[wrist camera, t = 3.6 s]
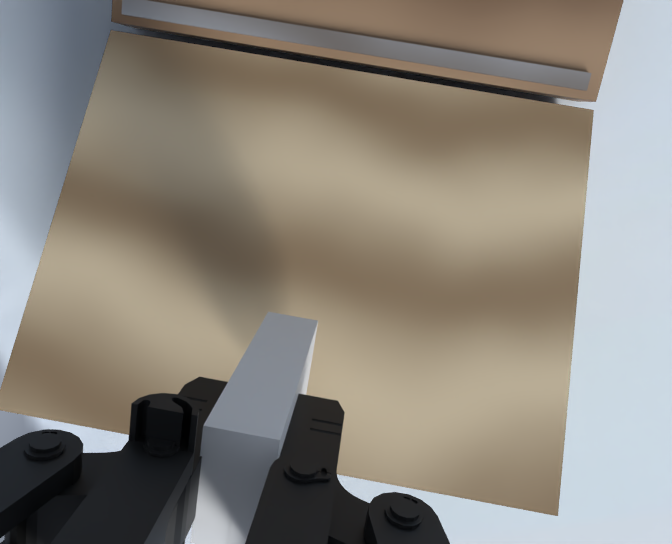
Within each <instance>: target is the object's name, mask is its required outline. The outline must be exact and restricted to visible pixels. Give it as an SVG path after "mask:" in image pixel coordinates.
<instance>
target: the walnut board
mask: <svg viewBox="0 0 672 544" xmlns="http://www.w3.org/2000/svg"><path fill="white" fill-rule="evenodd" d="M622 4H623V0H112V18H111V22H115V23H118V24H122V25H125V26H129V27H133V28H137V29H143V30H149V31H155V32H161V33H167V34H173V35H179V36H185V37H191V38H197V39H203V40H209V41H215V42H222V43H228V44H234V45H240V46H246V47H252V48H258V49H264V50H270V51H276V52H282V53H288V54H294V55H300V56H306V57H312V58H318V59H324V60H330V61H336V62H342V63H349V64H355V65H361V66H367V67H373V68H379V69H385V70H391V71H397V72H403V73H409V74H415V75H421V76H427V77H433V78H439V79H445V80H451V81H457V82H463V83H469V84H476V85H482V86H488V87H494V88H500V89H506V90H512V91H518V92H524V93H530V94H536V95H542V96H548V97H554V98H560V99H566V100H572V101H586V102H596V100H597V96H598V92H599V88H600V85H601V81H602V77H603V74H604V70H605V66H606V63H607V59H608V55H609V52H610V48H611V44H612V41H613V37H614V33H615V30H616V26H617V22H618V18H619V15H620V11H621V7H622Z"/></svg>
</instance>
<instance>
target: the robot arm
mask: <svg viewBox="0 0 672 544" xmlns="http://www.w3.org/2000/svg"><path fill="white" fill-rule="evenodd" d="M317 325H318V321H317V320H312V319H306V318H301V317H295V316H290V315H284V314H279V313H273V312H268V313H267V315H266V316H265V318H264V320H263V322H262V323H261V325H260V327H259V329H258V330H257V332H256V334H255V336H254V337H253V339H252V341H251V343H250V344H249V346H248V348H247V350H246V352H245V353H244V355H243V357H242V359H241V360H240V362H239V364H238V366H237V367H236V369H235V371H234V373H233V374H232V376H231V378H230V380H229V381H228V382H226V381H221V380H215V379H210V378H204V377H198V378H196V379H194V380H192V381H190V382H188V383H186V384H185V385H184V386H183V388H182V389H181V390H180V392H179V393H178V394H170V393H157V394H149V395H146V396H143V397H140V398H138V399H137V400H135V401H134V402H133V403H131V416H130V429H129V441H128V442H127V443H126V445H125V446H124V447H123V449H122V450H121V451H117V452H108V453H83V443H82V442H81V440H80V438H79V437H77V436H76V435H74V434H72V433H70V432H66V431H61V430H53V429H52V430H50V429H48V430H40V431H35V432H31V433H28V434H25V435H23V436H21V437H18V438H16V439H15V440H13V441H11V442H10V443H8V444H6V445H4V446H3V447H1V448H0V538H1V537H2V536H4V535H5V540H4V541H3V542H1V543H0V544H185V538H186V536H187V534H188V532H189V530H190V528H191V525H192V531H191V540H190V543H192V544H450V543H449V540H448V538H447V536H446V534H445V532H444V529H443V527H442V525H441V523H440V521H439V518H438V516H437V515H436V513H435V512H434V511H433V509H432V508H431V507H430V506H429V505H427V504H426V503H425V502H423V501H422V500H420V499H418V498H416V497H413V496H411V495H408V494H403V493H397V492H392V493H383V494H381V495H379V496H377V497H374V498H373V500H372V501H371V503H367V502H365V501H363V500H361V499H359V498H357V497H355V496H353V495H352V494H350V493H349V492H348V491H346V490H345V489H344V488H343V486H342V485H341V484H340V482H339V480H338V478H337V464H338V457H339V450H340V443H341V435H342V429H343V421H344V414H345V412H344V410H343V409H342V407H341V405H340V403H339V402H338V401H337V400H331V399H326V398H321V397H315V396H310V395H306V393H307V387H308V381H309V374H310V368H311V362H312V356H313V350H314V344H315V337H316V331H317Z"/></svg>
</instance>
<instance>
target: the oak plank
mask: <svg viewBox="0 0 672 544" xmlns="http://www.w3.org/2000/svg"><path fill="white" fill-rule="evenodd" d="M593 112H594V110H590V109H584V108H578V107H572V106H566V105H560V104H554V103H548V102H542V101H536V100H530V99H524V98H518V97H511V96H505V95H499V94H493V93H487V92H481V91H475V90H469V89H463V88H457V87H451V86H445V85H439V84H433V83H427V82H421V81H415V80H409V79H403V78H397V77H391V76H385V75H379V74H373V73H367V72H361V71H355V70H349V69H343V68H336V67H330V66H324V65H318V64H312V63H306V62H300V61H294V60H288V59H282V58H276V57H270V56H264V55H258V54H252V53H246V52H240V51H234V50H228V49H222V48H216V47H210V46H204V45H198V44H192V43H186V42H180V41H174V40H167V39H161V38H155V37H149V36H143V35H137V34H131V33H125V32H119V31H113V30H111V31H110V35H109V38H108V41H107V44H106V48H105V51H104V54H103V57H102V61H101V64H100V67H99V70H98V74H97V77H96V80H95V83H94V87H93V90H92V93H91V96H90V100H89V103H88V106H87V109H86V113H85V116H84V119H83V122H82V126H81V129H80V132H79V135H78V139H77V142H76V145H75V148H74V152H73V155H72V158H71V161H70V165H69V168H68V171H67V174H66V178H65V181H64V184H63V187H62V191H61V194H60V197H59V200H58V204H57V207H56V210H55V213H54V217H53V220H52V223H51V226H50V230H49V233H48V236H47V239H46V243H45V246H44V249H43V252H42V256H41V259H40V262H39V265H38V269H37V272H36V275H35V278H34V282H33V285H32V288H31V291H30V295H29V298H28V301H27V304H26V308H25V311H24V314H23V317H22V321H21V324H20V327H19V330H18V334H17V337H16V340H15V343H14V347H13V350H12V353H11V356H10V360H9V363H8V366H7V369H6V373H5V376H4V379H3V382H2V386H1V389H0V410H1V411H7V412H12V413H17V414H23V415H28V416H33V417H38V418H44V419H49V420H54V421H59V422H65V423H70V424H75V425H80V426H86V427H91V428H96V429H102V430H107V431H112V432H117V433H123V434H128V435H129V429H130V416H131V403H133V402H134V401H135V400H137V399H138V398H140V397H143V396H146V395H149V394H157V393H170V394H178V393H179V392H180V390H181V389H182V388H183V386H184V385H185V384H186V383H188V382H190V381H192V380H194V379H196V378H198V377H204V378H210V379H215V380H221V381H226V382H228V381H229V380H230V378H231V376H232V374H233V373H234V371H235V369H236V367H237V366H238V364H239V362H240V360H241V359H242V357H243V355H244V353H245V352H246V350H247V348H248V346H249V344H250V343H251V341H252V339H253V337H254V336H255V334H256V332H257V330H258V329H259V327H260V325H261V323H262V322H263V320H264V318H265V316H266V315H267V313H268V312H273V313H279V314H284V315H290V316H295V317H301V318H306V319H312V320H317V321H318V325H317V331H316V337H315V344H314V350H313V356H312V362H311V368H310V374H309V381H308V387H307V393H306V395H310V396H315V397H321V398H326V399H331V400H337V401H338V402H339V403H340V405H341V407H342V409H343V410H344V412H345V414H344V421H343V429H342V435H341V443H340V450H339V457H338V464H337V474H339V475H344V476H349V477H355V478H360V479H365V480H370V481H376V482H381V483H386V484H392V485H397V486H402V487H407V488H413V489H418V490H423V491H428V492H434V493H439V494H444V495H450V496H455V497H460V498H465V499H471V500H476V501H481V502H486V503H492V504H497V505H502V506H507V507H513V508H518V509H523V510H529V511H534V512H539V513H544V514H550V515H555V516H558V508H559V496H560V485H561V474H562V462H563V451H564V440H565V429H566V417H567V406H568V395H569V383H570V372H571V361H572V349H573V338H574V327H575V315H576V304H577V293H578V281H579V270H580V259H581V247H582V236H583V225H584V213H585V202H586V191H587V179H588V168H589V157H590V145H591V134H592V123H593Z"/></svg>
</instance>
